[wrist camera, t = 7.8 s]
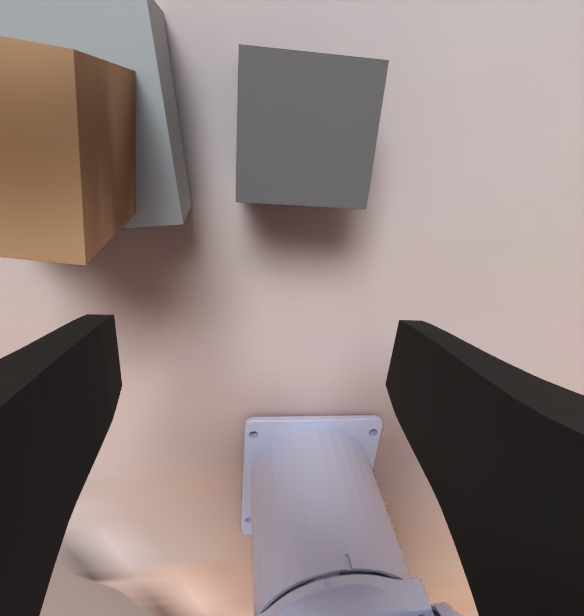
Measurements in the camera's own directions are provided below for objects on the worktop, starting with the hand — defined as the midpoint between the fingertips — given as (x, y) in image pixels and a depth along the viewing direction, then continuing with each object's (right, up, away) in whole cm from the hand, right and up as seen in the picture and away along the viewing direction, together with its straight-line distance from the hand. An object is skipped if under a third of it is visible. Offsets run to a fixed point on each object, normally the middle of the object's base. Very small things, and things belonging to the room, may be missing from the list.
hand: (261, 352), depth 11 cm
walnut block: (-7, +7, +3) cm, 10 cm away
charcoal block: (+1, +9, +7) cm, 11 cm away
